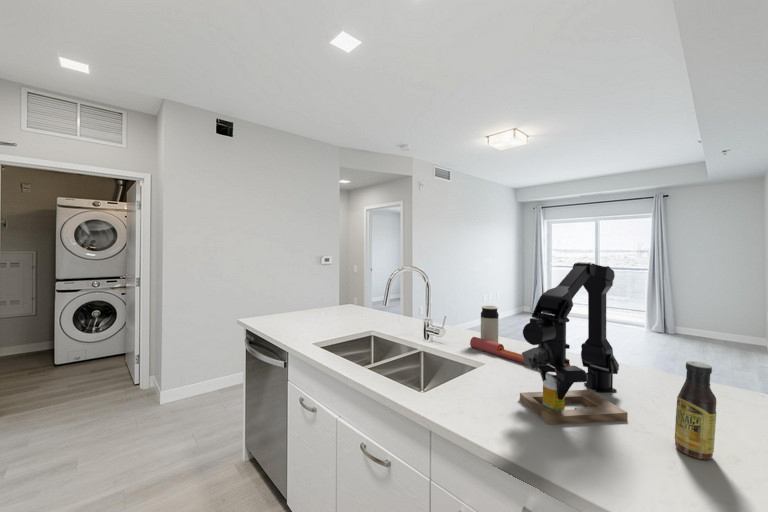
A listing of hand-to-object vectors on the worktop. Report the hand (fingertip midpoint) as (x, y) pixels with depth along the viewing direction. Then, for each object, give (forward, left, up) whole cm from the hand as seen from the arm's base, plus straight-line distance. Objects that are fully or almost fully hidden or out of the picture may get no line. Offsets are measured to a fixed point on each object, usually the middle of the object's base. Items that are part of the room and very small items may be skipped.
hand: (553, 394), depth 89 cm
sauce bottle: (-19, +21, -5) cm, 29 cm away
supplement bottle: (0, 0, -4) cm, 4 cm away
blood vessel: (-10, -41, -5) cm, 43 cm away
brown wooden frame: (-5, 0, -4) cm, 7 cm away
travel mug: (-9, -62, -5) cm, 63 cm away
